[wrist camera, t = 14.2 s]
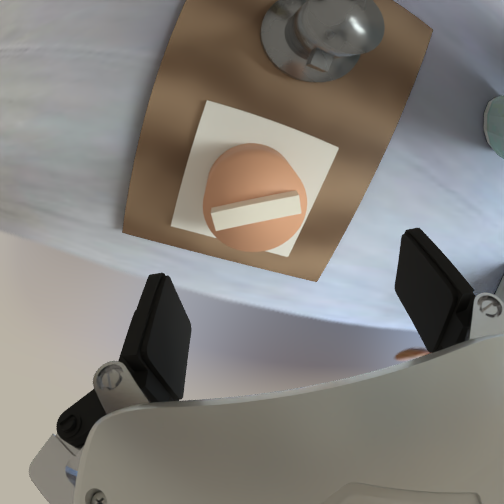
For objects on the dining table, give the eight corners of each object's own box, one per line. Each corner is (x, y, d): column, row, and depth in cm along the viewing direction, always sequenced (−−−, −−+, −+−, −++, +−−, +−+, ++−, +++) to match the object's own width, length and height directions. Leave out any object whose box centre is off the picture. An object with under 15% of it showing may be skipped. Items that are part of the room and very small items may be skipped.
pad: (207, 100, 18) (206, 100, 17) (337, 146, 20) (339, 147, 20) (171, 223, 22) (170, 226, 22) (287, 254, 25) (287, 257, 24)
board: (222, -62, 11) (222, -67, 10) (426, 30, 15) (433, 29, 14) (125, 227, 23) (122, 232, 22) (314, 275, 28) (316, 282, 27)
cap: (287, 135, 19) (303, 150, 15) (299, 215, 22) (314, 247, 18) (197, 154, 19) (188, 174, 15) (219, 231, 23) (217, 267, 19)
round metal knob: (279, -18, 13) (302, -57, 7) (368, 23, 14) (421, 7, 9) (245, 61, 16) (253, 47, 10) (337, 97, 18) (384, 106, 12)
